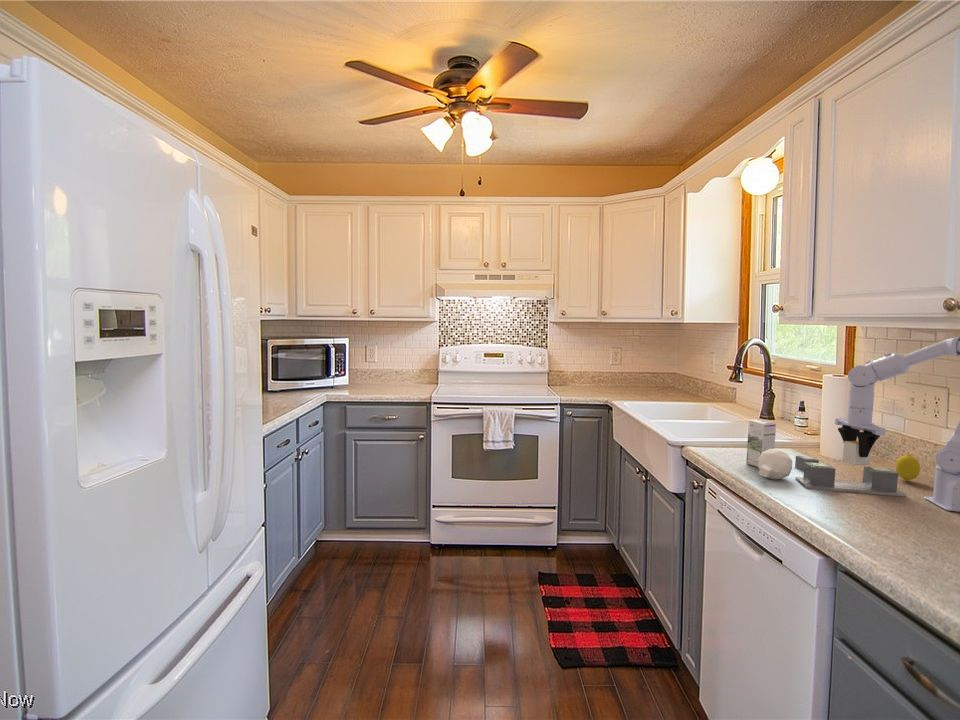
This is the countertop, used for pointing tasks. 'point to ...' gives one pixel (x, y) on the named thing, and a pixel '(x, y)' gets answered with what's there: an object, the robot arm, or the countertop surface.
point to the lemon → (907, 467)
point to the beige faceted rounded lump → (774, 464)
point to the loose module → (854, 454)
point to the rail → (873, 481)
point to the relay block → (801, 459)
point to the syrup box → (759, 439)
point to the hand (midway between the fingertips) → (856, 454)
